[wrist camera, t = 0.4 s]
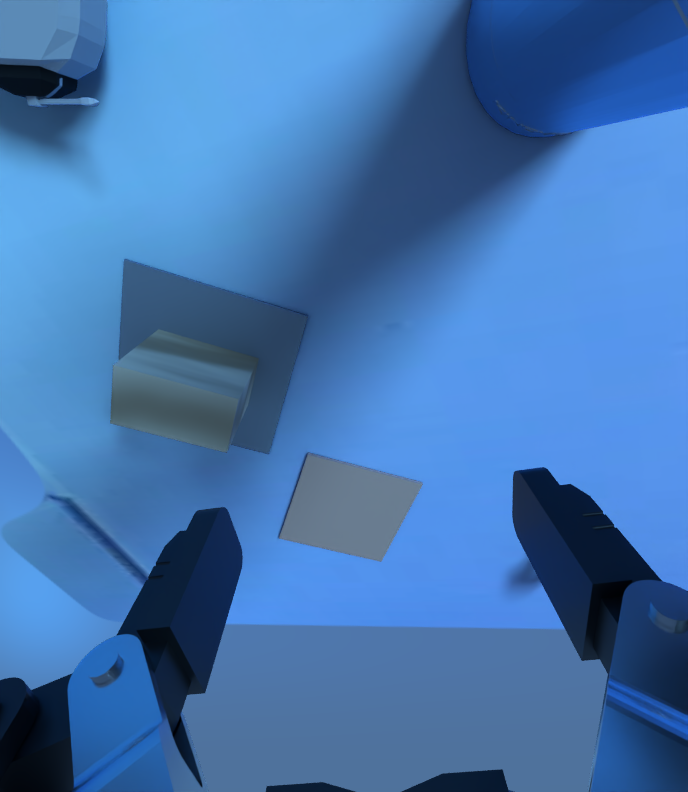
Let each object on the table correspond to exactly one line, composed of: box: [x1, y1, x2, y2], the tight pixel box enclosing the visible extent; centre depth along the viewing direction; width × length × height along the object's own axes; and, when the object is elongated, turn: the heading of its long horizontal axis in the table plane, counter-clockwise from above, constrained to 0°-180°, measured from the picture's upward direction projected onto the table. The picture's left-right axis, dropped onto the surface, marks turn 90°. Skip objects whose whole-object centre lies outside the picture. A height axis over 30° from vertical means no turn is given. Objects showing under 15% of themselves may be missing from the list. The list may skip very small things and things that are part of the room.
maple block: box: [110, 329, 259, 453], centre depth 26 cm, size 4×7×6 cm, turn 72°
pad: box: [279, 453, 423, 561], centre depth 35 cm, size 10×10×1 cm
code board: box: [119, 259, 308, 454], centre depth 29 cm, size 12×12×1 cm
